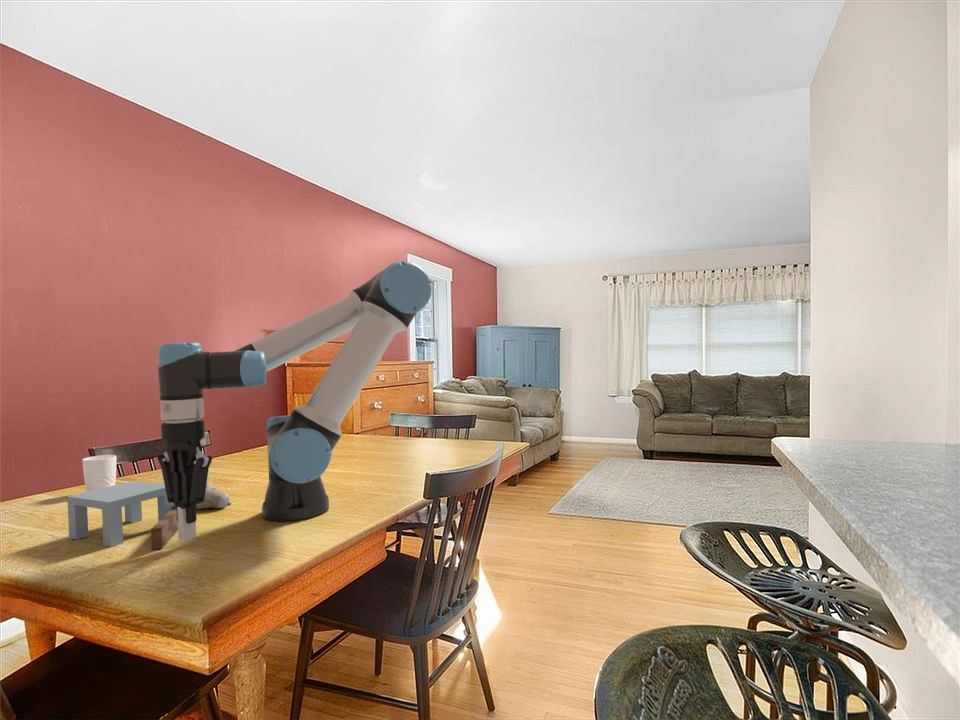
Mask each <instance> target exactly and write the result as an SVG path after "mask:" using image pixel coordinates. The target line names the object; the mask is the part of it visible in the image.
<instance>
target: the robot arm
mask: <svg viewBox="0 0 960 720" xmlns="http://www.w3.org/2000/svg"><path fill="white" fill-rule="evenodd" d="M431 295H432V284H431V280H430V277H429V276H428V274H427V273H426V271H425V270H424V269H423V268H422V267H421V266H419V265H418V264H416V263H414V262H411V261H410V262H409V261H397V262H393V263H391V264H389V265H388V266H387V267H386V268H385V269H383V270H381V271H379V272H378V273H376V274H375V275H374V276H373V277H372V278H370V279H369V280H367V281H366V282H364V284H363V283H362V285H360V286H358V287H356V288H355V289H352V290H351V291H349V294H348V296H347V297H345V298H343V299H341V300H338V301H336V302H335V303H333V304H330V305H328V306H326V307H323V308H322V309H319V310H318V311H315V312H313V313H312V314H309V315H306V316H305V317H302V318H301V319H299V320H296V321H295V322H293V323H290V324H289V325H286V326H284V327H282V328H280V329H277V330H276V331H275V330H274V332H271V333H268V334H267V335H265V336H263V337H261V338H259V339H257V340H254V341H253V342H250V343H248V344H247V345H244V346H242V347H240V348H238V349H235V350H231V351H203V349H202V345H201V343H200V342H166V343H163V344H161V345H160V346H159V348H158V366H157V369H158V384H159V385H158V386H159V387H158V388H159V400H160V401H159V402H160V420H162V421H164V422H163V423H162V424H161V425H160V433H161V435H160V437H161V438H160V439H161V441H162V442H163V443H166V446H165V451H164V452H163V453H160V454H158V455H157V457H156V458H157V461H158V463H159V465H160V469H161V473H162V477H163V484H165V489H166V494H167V499H168V502H169V503H171V502H173V503H174V505H175V507H176V511H177V521H178V530H177V532H178V533H177V535H178V541H179V542H180V541H182V542H185V541H189V540H191V539H194V538H197V526H196V522H197V509H196V505H197V504H199V503H202V502H204V499H205V492H206V484H207V482H208V475H209V469H210V468H209V467H210V466H211V464H212V462H213V457H212V455H206V454H205V453H203V447H202V443H201V441H202V440H203V438H205V437H206V435H205V421H204V420H203V419H201V418H204V416H205V403H204V390H213V389H214V390H215V389H240V388H247V389H250V388H257V387H262V386H264V385H265V384H266V383H267V373H268V372H270V371H272V370H274V369H276V368H278V367H279V366H282V365H283V364H285V363H288V362H290V361H292V360H294V359H295V358H297V357H300V356H302V355H304V354H307V353H308V352H310V351H312V350H314V349H316V348H318V347H320V346H321V345H324V344H326V343H328V342H330V341H332V340H335V339H336V338H338V337H340V336H342V335H344V334H346V333H349V332H350V331H351V332H350V333H349V335H348V337H347V338H346V340H345V341H344V343H343V345H341V348H340V350H339V351H338V352H337V354H336V356H335V358H333V361H332V362H331V364H330V365H329V367H328V368H327V370H326V372H325V373H324V375H323V376H322V378H321V379H320V381H319V382H318V384H317V386H316V387H315V389H314V390H313V391H312V394H310V396H309V398H308V400H307V401H306V403H305V404H304V405H300V406H296V407H294V408H293V410H292V411H291V412H290V415H280V416H279V415H278V416H271V417H269V418H268V419H267V421H266V428H265V430H266V431H265V432H266V433H267V435H266V436H267V438H266V439H267V460H268V461H267V462H268V465H267V466H268V485H267V488H266V492H265V496H264V501H263V503H262V505H261V517H262V518H263V519H265V520H269V521H275V522H276V521H278V522H285V521H286V522H288V521H298V520H304V519H309V518H313V517H317V516H319V515H322V514H324V513H326V512H327V511H328V510H329V509H330V497H329V496H328V494H327V493H326V489H325V486H324V482H323V479H322V477H321V476H322V475H323V474H324V473H325V471H327V469H328V467H329V465H330V462H331V460H332V459H331V458H332V452H333V450H334V448H336V445H337V444H338V443H339V440H340V438H341V437H342V435H343V432H342V429H341V423H342V422H343V420H344V418H345V417H346V416H347V414H348V413H349V411H350V410H351V407H352V406H353V404H354V403H355V401H356V400H357V397H358V396H359V394H360V392H361V391H362V390H363V388H364V386H365V385H366V383H367V382H368V380H369V378H370V376H371V375H372V374H373V372H374V370H375V368H376V367H377V365H378V364H379V362H380V360H381V359H382V357H383V356H384V354H385V352H386V350H387V349H388V347H389V346H390V344H391V342H393V339H394V338H395V336H396V335H397V334H398V333H401V332H406V331H407V329H408V327H409V326H410V325H411V323H412V321H413V319H414V318H415V316H416V315H417V313H418V312H420V311H422V310H423V309H424V308H425V307H426V306H427V304H428V303H429V301H430V299H431ZM173 495H174V496H173Z"/></svg>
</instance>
